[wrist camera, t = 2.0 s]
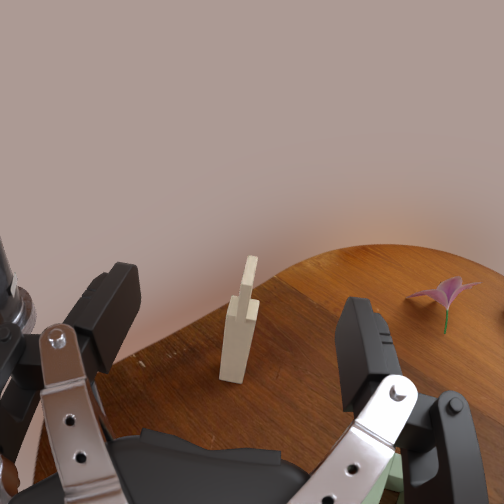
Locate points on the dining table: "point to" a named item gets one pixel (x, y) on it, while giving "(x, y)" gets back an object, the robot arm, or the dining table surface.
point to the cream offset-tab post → (239, 327)
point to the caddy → (388, 482)
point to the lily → (446, 292)
